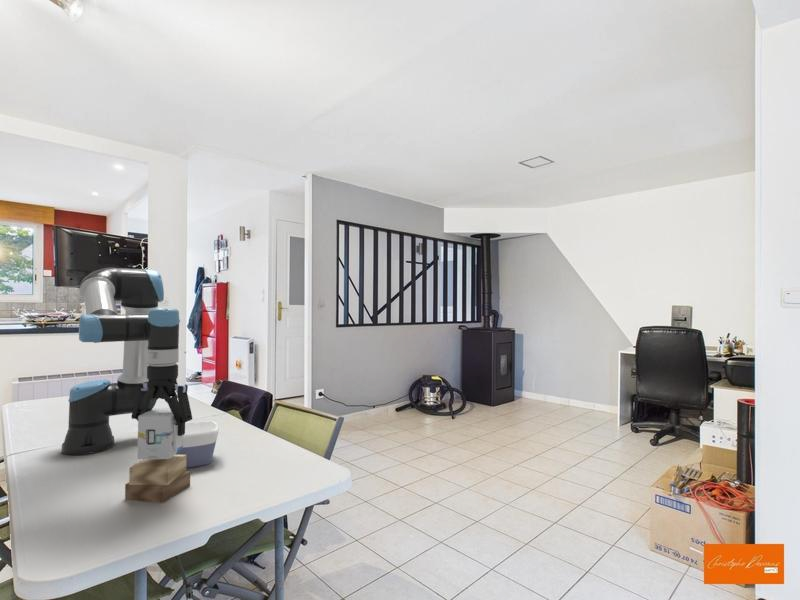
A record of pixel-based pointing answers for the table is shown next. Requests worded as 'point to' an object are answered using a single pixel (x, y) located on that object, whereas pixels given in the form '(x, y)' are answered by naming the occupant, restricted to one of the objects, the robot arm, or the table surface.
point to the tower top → (157, 471)
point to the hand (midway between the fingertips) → (161, 445)
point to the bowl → (199, 443)
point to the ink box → (156, 434)
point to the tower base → (157, 490)
